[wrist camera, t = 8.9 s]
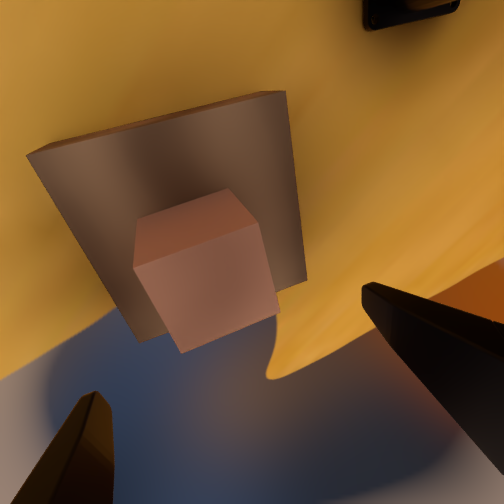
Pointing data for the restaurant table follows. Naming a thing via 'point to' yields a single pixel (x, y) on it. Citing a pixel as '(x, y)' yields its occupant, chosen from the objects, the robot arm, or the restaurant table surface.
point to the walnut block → (176, 187)
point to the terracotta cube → (204, 268)
